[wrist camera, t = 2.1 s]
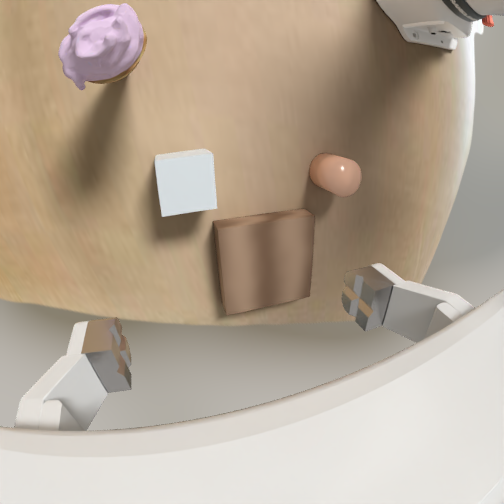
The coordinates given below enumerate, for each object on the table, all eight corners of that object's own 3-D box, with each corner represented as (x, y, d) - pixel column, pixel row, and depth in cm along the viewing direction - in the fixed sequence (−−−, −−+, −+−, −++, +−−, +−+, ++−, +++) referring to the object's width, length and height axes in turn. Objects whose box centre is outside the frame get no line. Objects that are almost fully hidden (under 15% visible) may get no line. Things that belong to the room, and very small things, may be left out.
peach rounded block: (339, 152, 35) (362, 158, 31) (338, 185, 38) (360, 195, 33) (309, 153, 34) (330, 159, 30) (309, 188, 36) (329, 198, 32)
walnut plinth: (303, 208, 37) (314, 215, 35) (300, 285, 43) (309, 296, 40) (213, 221, 34) (217, 229, 32) (221, 302, 40) (226, 315, 37)
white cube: (204, 148, 31) (213, 153, 26) (208, 195, 33) (217, 208, 28) (155, 155, 29) (154, 161, 24) (161, 202, 32) (161, 217, 27)
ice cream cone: (122, 110, 26) (89, 99, 13) (81, 83, 23) (24, 58, 10) (161, 62, 25) (163, 14, 12) (119, 35, 22) (93, -23, 9)
